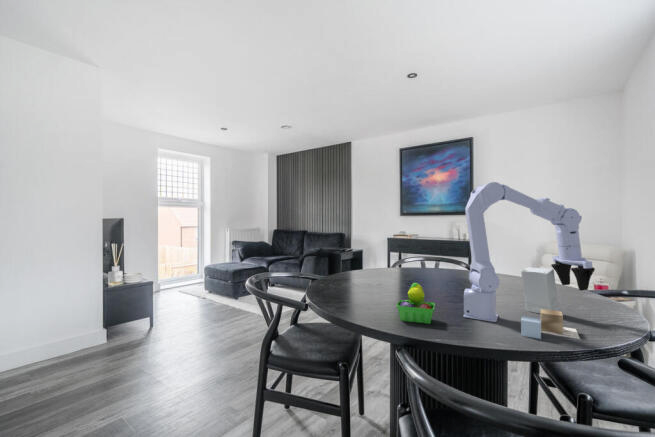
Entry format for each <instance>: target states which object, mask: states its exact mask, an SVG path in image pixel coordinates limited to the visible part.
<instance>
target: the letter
mask: <svg viewBox="0 0 655 437" xmlns="http://www.w3.org/2000/svg"><path fill="white" fill-rule="evenodd" d="M542 333H543V334H547V335H553V336H557V337H558V336H559V337H566V338H571V339H578V340H580V339H581V338H580V336H579V333H578V331H577V328H572V327H566V326H563V334H560V333H554V332H548V331H542V330H541V334H542Z"/></svg>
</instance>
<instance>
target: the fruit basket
mask: <svg viewBox="0 0 655 437" xmlns="http://www.w3.org/2000/svg"><path fill="white" fill-rule="evenodd" d="M407 297H408V299H401V300H399V301H398V302H397V304H396V308H397V310H398V313H399V317H400V319H399V320H400V321H401V322H403V321H404V322H410V323H420V324H427V325H428V324H429V325H430V324H431V322H432V318H433V313H434V311H435V306H436V305H435V304H436V302H435V303H434V302H431V301H430V302H429V301H425V300H424V299H425V292H424V289H423V287H422V286H421V285H420V283H417V282H413V283H412V284H411V286H410V287H409V290H408V292H407Z"/></svg>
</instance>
